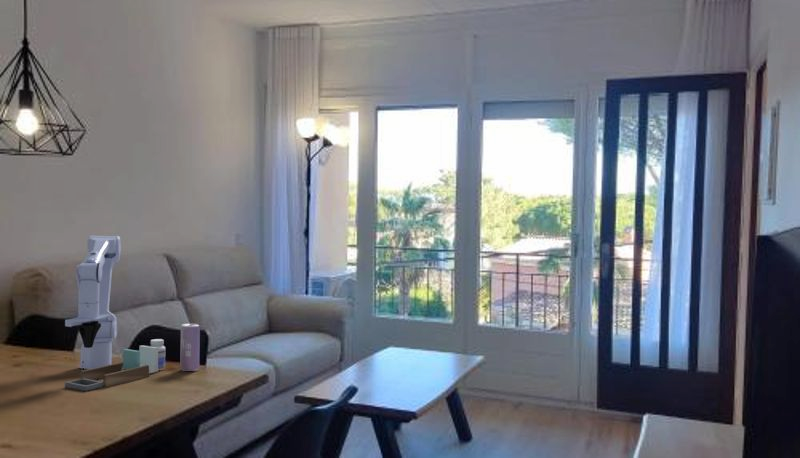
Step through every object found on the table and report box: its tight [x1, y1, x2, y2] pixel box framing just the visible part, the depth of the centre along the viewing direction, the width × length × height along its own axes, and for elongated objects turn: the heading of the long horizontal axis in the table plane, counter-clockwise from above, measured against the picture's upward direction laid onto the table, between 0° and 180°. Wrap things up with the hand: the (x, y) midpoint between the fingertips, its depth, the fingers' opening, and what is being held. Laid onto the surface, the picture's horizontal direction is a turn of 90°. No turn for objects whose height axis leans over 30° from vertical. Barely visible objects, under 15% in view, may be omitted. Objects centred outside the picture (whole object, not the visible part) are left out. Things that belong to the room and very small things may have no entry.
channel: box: [80, 361, 150, 388], centre depth 203 cm, size 11×16×4 cm
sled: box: [122, 345, 159, 374], centre depth 212 cm, size 7×8×8 cm
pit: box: [64, 378, 105, 393], centre depth 194 cm, size 9×6×2 cm, turn 63°
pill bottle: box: [149, 338, 166, 372], centre depth 218 cm, size 5×5×10 cm
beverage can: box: [179, 323, 201, 372], centre depth 218 cm, size 6×6×15 cm
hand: (88, 347), depth 200 cm, fingers closed
